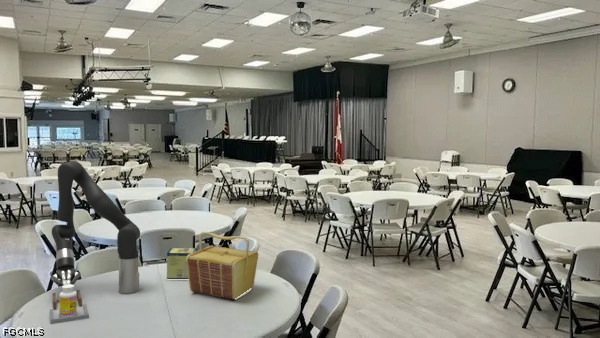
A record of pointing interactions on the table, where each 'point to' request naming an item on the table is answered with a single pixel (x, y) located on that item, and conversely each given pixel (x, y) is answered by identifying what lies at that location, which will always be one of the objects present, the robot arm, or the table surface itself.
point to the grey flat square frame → (69, 316)
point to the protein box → (178, 262)
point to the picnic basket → (221, 269)
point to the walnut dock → (77, 300)
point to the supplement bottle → (67, 301)
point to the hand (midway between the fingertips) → (66, 293)
